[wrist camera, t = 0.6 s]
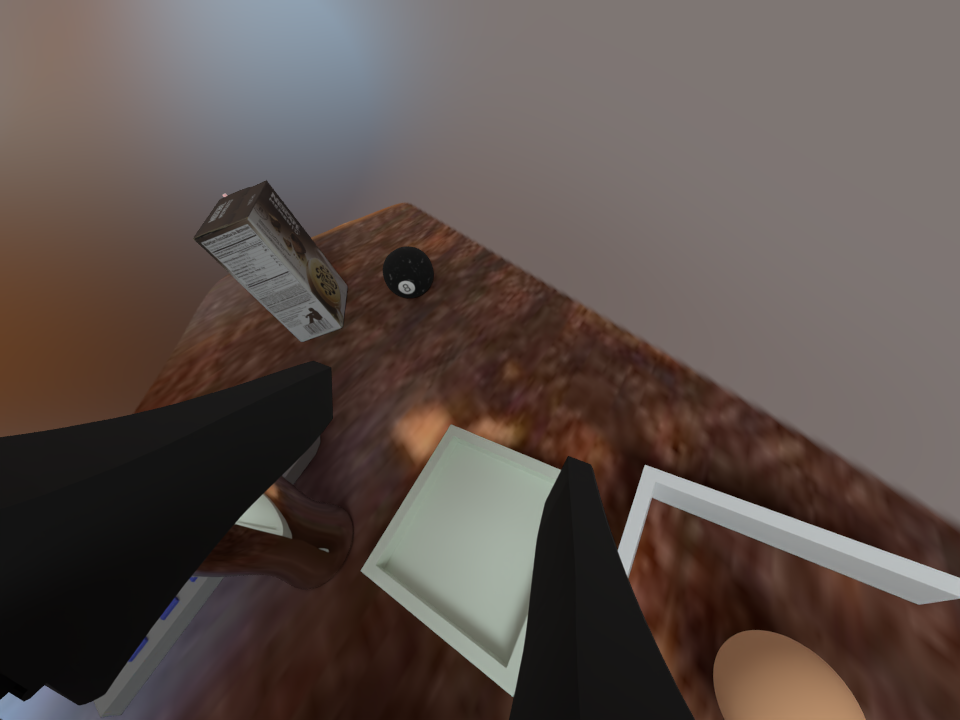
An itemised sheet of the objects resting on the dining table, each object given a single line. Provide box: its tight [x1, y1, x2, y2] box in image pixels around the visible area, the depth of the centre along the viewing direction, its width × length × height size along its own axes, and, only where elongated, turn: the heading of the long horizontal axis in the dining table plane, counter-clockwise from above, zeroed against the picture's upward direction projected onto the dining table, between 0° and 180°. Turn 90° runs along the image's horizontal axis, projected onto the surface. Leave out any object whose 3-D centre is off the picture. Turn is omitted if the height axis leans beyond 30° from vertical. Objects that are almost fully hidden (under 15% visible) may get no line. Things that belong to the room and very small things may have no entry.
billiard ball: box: [383, 247, 434, 298], centre depth 43 cm, size 6×6×6 cm
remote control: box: [94, 436, 320, 718], centre depth 31 cm, size 8×23×2 cm, turn 151°
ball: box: [713, 630, 866, 720], centre depth 15 cm, size 5×5×5 cm
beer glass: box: [191, 475, 353, 590], centre depth 23 cm, size 7×7×15 cm
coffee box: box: [193, 181, 348, 342], centre depth 43 cm, size 9×6×16 cm
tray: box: [361, 425, 561, 697], centre depth 24 cm, size 12×12×2 cm
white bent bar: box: [618, 465, 960, 605], centre depth 16 cm, size 13×16×3 cm
